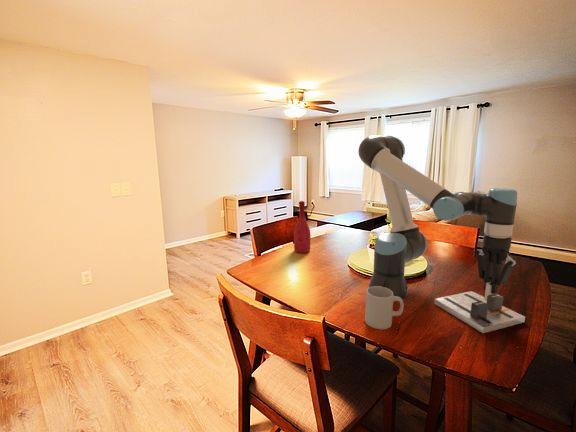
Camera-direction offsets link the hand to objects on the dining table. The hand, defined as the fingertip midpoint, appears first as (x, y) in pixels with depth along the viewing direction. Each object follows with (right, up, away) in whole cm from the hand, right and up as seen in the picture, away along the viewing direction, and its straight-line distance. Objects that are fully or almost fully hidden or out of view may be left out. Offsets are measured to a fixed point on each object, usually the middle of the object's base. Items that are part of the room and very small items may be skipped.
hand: (489, 300), depth 97 cm
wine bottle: (-62, +8, +68) cm, 93 cm away
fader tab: (+1, -2, -2) cm, 3 cm away
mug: (-39, -6, -5) cm, 39 cm away
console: (-4, -4, 0) cm, 6 cm away
